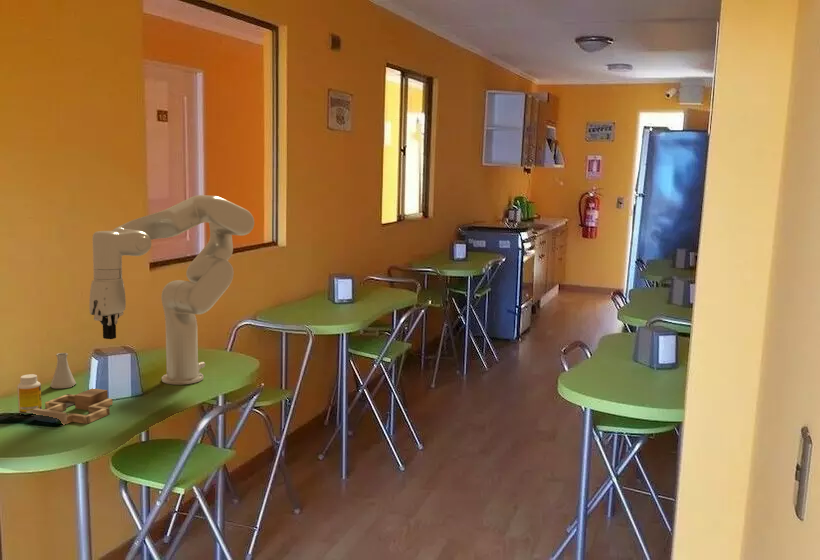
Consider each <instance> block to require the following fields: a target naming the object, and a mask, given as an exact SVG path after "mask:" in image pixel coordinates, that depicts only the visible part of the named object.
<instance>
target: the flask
mask: <svg viewBox="0 0 820 560" xmlns="http://www.w3.org/2000/svg"><path fill="white" fill-rule="evenodd" d="M55 356H56V358H57V362H56V368H55V371H54V374H53V378H52V380H51V382H50V385H49V386H50V387H51V388H52V389H67V388H72V386H73V387H75V386H76V385H77V382H76V380H75V378H74V376H73V373H72V371H71V369H70V366H69V362H68V358H67V357H68V356H69V353H67V352H58V353H56V354H55ZM75 384H76V385H75ZM74 385H75V386H74Z"/></svg>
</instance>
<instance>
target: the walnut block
mask: <svg viewBox="0 0 820 560" xmlns="http://www.w3.org/2000/svg"><path fill="white" fill-rule="evenodd" d="M93 388H94V387H92V388H89V389H88V390H85V391H82V392H78V393H76V394H74V395H75V405H74V408H75V409H78V410H84V411H88V406H91V405H93V404H96V403H99V402H101V401H104V400H106V399H109V396H108V389H103V388H102V389H101V388H95V389H93Z"/></svg>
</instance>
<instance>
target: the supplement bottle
mask: <svg viewBox="0 0 820 560" xmlns="http://www.w3.org/2000/svg"><path fill="white" fill-rule="evenodd" d="M19 378H20V383H18V384H17V403H18V404H17V405H18V414H19V413H33V409H35V408H38V409H43V405H42V401H43V400H42V387H41V386H42V385H41V382H40V381H38V375H37V374H33V373H31V374H30V373H29V374H23V375H21V376H20V377H19Z"/></svg>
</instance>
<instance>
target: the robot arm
mask: <svg viewBox="0 0 820 560" xmlns="http://www.w3.org/2000/svg"><path fill="white" fill-rule="evenodd" d="M205 223H208V226H209V240H208V241H207V244H206V245H205V246H204V247H203V249H201V251H200V252H199V253H198V254H197V255H196V256H195V258H193V260H192V261H191V262H190V263H189V264H188V267H187V268H186V273H185V275H186V278H187V280H183V279H182V280H181V279H177V280H172V281H170V282H168V283H167V284H165V286H163V289H162V290H161V291H162V292H161V304H162V308H163V312H164V321H165V323H164V324H165V356H166V357H165V359H166V374H163V376H161V382H163V383H164V384H167V385H173V386H174V385H175V386H176V385H177V386H179V385H180V386H182V385H191V384H195V383H199V382H201V381H202V380H204V374H203V373H202V372H200V369H203V368H205V366H206V363H205V362H204V361H200V362H199V350H198V347H199V345H198V341H199V340H198V320H197V317H196V315H203V314H205V313H208V312H209V311H210V310H211V309H212V308H213V307H214V305H215V304H216V303H217V302H218V301H219V299H220V298H221V297H222V296H223V294H225V292H226V291H227V290H228V288H229V287H230V285H231V284H232V282H233V279H234V274H235V273H234V267H233V265H232V264H231V262H230V261H229V260H230V259H231V258H232V255H233V253H234V243H233V236H247V235H249V234H250V233H251V232H252V231H253V229H254V227H255V218H254V216H253V214H252V213H251V212H250V211H249V210H248V209H246V208H244V207H242V206H240V205H238V204H236V203H234V202H232V201H229V200H227V199H225V198H222V197H220V196H217V195H205V194H204V195H203V194H199V195H198V194H197V195H194V196H191V197H189V198H187V199H184V200H182V201H180V202H178V203H176V204H175V205H173V206H172V205H171V207H168V208H165V209H163V210H160V211H158V212H154V213H151V214H147V215H145V216H142V217H138V218H135V219H132V220H129V221H127V222H125V223H123V224H121V225H119V226H116V227H115V228H113V229H112V230H100V231H99V230H98V231H95V232H94V233H93V234H92V264H93V265H92V266H93V267H92V268H93V280H91V285H90V291H89V305H88V306H89V309H88V310H89V314H90V316H92V315H93V320H94V321H98V322H100V324H101V326H102V338H103V339H106V340H114V339H116V338H117V326H116V325H117V324H118V321H119V318H121V317H122V316H124V311H125V310H126V305H127V304H126V303H127V300H126V289H125V284H124V283H125V282H124V279H123V256H130V257H140V256H144V255H146V254H147V253H148V252H149V251H150V250H151V247H152V240H157V239H159V240H160V239H168V238H172V237H176V236H179V235H182V234H183V233H184V232H187V231H189V230H190V229H193V228H194V227H196V226H198V225H200V224H205Z"/></svg>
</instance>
